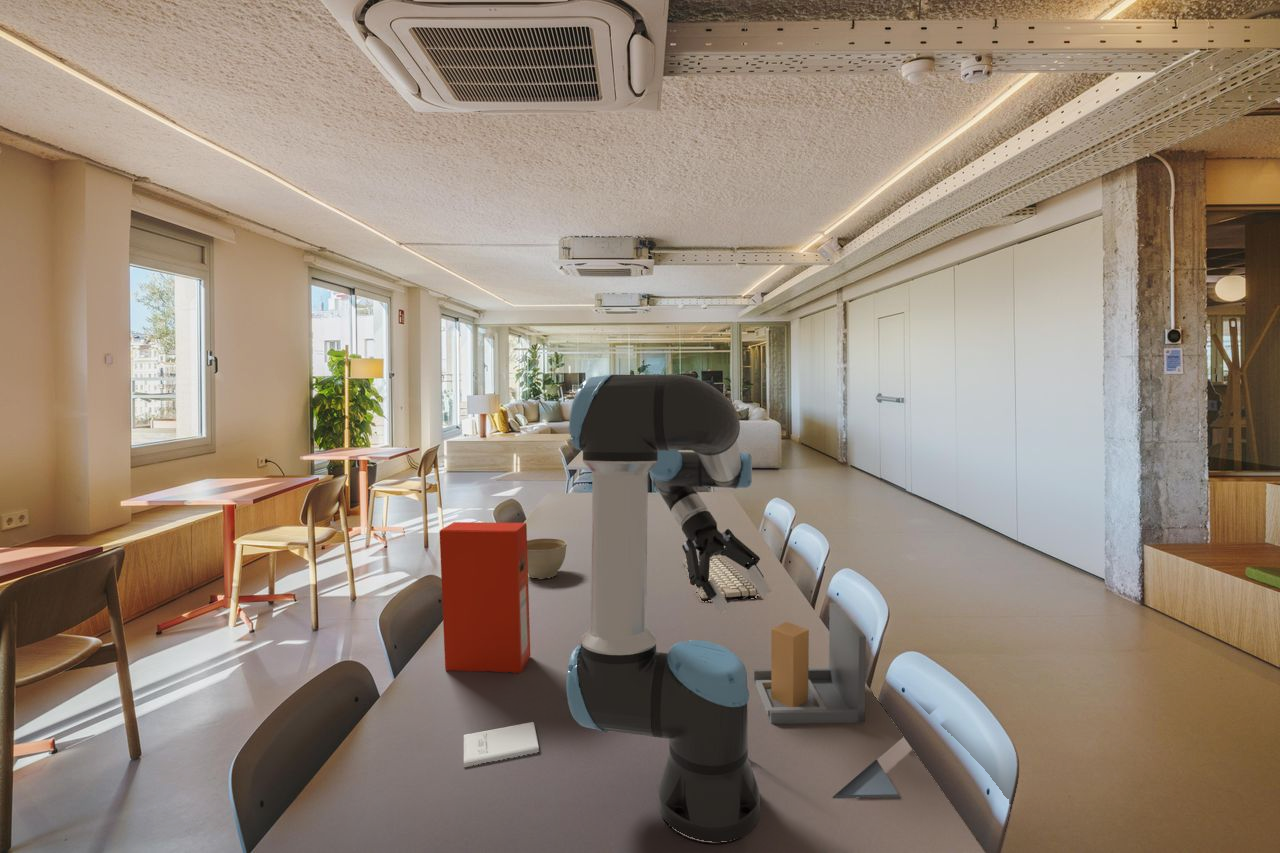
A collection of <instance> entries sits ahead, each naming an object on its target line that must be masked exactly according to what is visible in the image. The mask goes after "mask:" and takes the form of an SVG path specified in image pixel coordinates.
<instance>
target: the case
mask: <svg viewBox="0 0 1280 853" xmlns="http://www.w3.org/2000/svg"><path fill="white" fill-rule="evenodd" d="M828 624H829V626H828V630H829V633H828V638H829V639H828V641H829V642H828V648H829V649H828V667H826V668H808V700H807V701H805V702H804V703H802V704H801V705H799V706H797V707H788V706H786V705H784V704H782V703H780V702H778V701H775V700H773V699H771V668H761V669H759V668H758V669H755V668H754V669H753V682H754V684H755V686H756V689H757V691H758V694H759V697H760V698H761V699H760V700H761V701H762V704H763V707H764V709H765V712H766V715H767V718H768V720H769V722H770V724H772V725H773V724H779V725H780V724H781V725H782V724H785V725H787V724H843V723H844V724H846V723H847V724H850V723H851V724H854V723H855V724H856V723H857V724H858V723H863V724H864V723H865V722H866V721H865V720H866V715H865V714H866V662H867V660H866V653H867V652H866V650H867V648H866V645H867V644H866V643H867V636H866V634H864V632H862V630H861V629H860V628H859V627H858V626H857V625H856V624H855V623H854V621H853V620H851V618H850V617H849V616H848V615H847V614H846V613H845V612H844V611H843V609H842V608H840V606H839V605H838V604H837V603H836V602H829V622H828Z"/></svg>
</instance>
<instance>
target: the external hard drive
mask: <svg viewBox="0 0 1280 853" xmlns="http://www.w3.org/2000/svg"><path fill="white" fill-rule="evenodd" d="M537 752H539V753H540V747H539V742H538V736H537V731H536V727H535V723H534V721H531V722H526V723H520V724H515V725H510V726H504V727H498V728H495V729H490V730H489V729H488V730H484V731H482V730H481V731H478V732H474V733H473V732H472V733H467V734H463V768H467V767H474V766H477V765H478V764H479V765H482V764H481V763H485V764H487V763H486V762H490V761H495V762H498V760H500V761H503V759H505V760H508V759H507V758H510V759H515V758H519V757H518V756H520V757H524V756H523V755H525V756H528V755H527V754H530V755H534V754H533V753H535V754H538V753H537ZM514 757H515V758H514ZM490 763H491V762H490ZM473 765H474V766H473Z"/></svg>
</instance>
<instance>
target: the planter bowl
mask: <svg viewBox="0 0 1280 853" xmlns="http://www.w3.org/2000/svg"><path fill="white" fill-rule="evenodd" d="M567 544H568V542H567V541H566V540H565V539H560V538H553V537H549V538H547V537H544V538H543V537H542V538H533V539H527V559H528V577H529V576H530V577H532V578H531V579H533V578H548V579H550V578H549V577H552V578H554V577H553V576H555V575H556V576H558V572H559V571H560V569H561V568H562V565H563V563H564V562H565V560H566V559H565V558H566V554H567ZM556 576H555V577H556ZM530 577H529V578H530Z"/></svg>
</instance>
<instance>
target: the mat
mask: <svg viewBox="0 0 1280 853" xmlns="http://www.w3.org/2000/svg"><path fill="white" fill-rule="evenodd" d="M856 797H863V798H862V799H865V798H866V797H867V798H866V799H871V798H872V797H873V799H874V797H883V798H884V797H885V798H886V797H887V799H888V797H889V798H890V797H891V798H892V797H894V798H900V794H899V791H897V788H895V786H894V784H893V782H892V781H891V779H890V778H889V776H888V775H887V773H886V772H885V770H884V769H883V767H882V766H881V764H880V762H879V760H878V759H875V760H874V761H872V763H870V764H869V765H868V766H867V767H865V769H863V770H862V771H861V772H860V773H859V774H857V776H855V777H854V778H853V779H852V780H850V782H848V783H846V785H845V786H844V787H843V788H840V790H839V791H838V792H836V793H835V794H834V795H833V796H832V799H857V798H856ZM864 797H865V798H864ZM868 797H869V798H868ZM870 797H871V798H870ZM885 798H884V799H885Z"/></svg>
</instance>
